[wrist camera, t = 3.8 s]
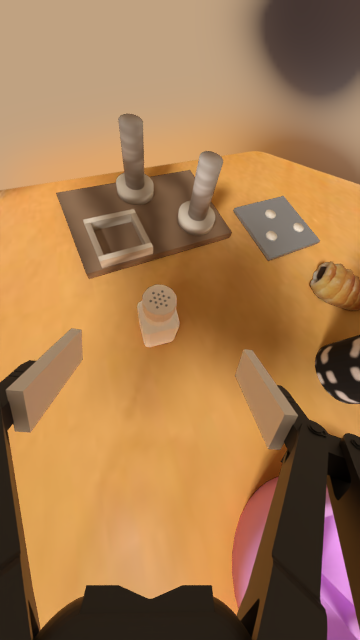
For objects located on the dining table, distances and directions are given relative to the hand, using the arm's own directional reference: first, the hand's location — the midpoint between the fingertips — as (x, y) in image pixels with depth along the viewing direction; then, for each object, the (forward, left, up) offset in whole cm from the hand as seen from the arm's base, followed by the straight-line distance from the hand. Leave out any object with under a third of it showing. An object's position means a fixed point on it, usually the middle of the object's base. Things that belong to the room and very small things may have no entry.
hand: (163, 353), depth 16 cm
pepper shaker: (-1, +5, -10) cm, 11 cm away
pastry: (+26, +19, -10) cm, 33 cm away
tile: (+16, +30, -9) cm, 35 cm away
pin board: (-7, +24, -9) cm, 27 cm away
